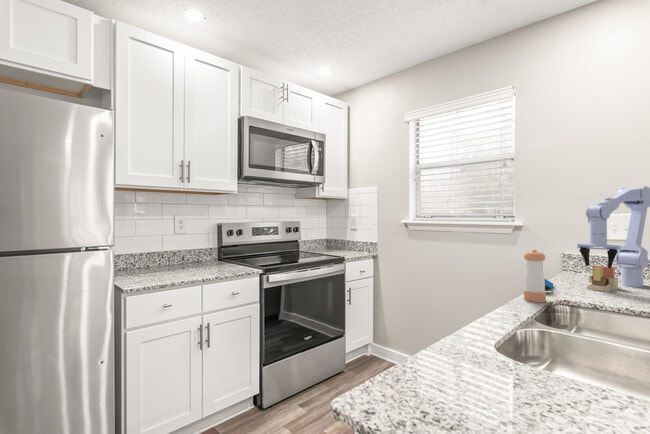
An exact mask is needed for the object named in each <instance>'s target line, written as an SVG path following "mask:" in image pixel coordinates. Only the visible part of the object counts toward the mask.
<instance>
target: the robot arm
mask: <svg viewBox="0 0 650 434" xmlns="http://www.w3.org/2000/svg"><path fill="white" fill-rule="evenodd" d="M620 204H623V205H624V206H625V207H626V208H628V209H631V211H630V217H629V222H628V223H629V224H628V229H627V234H626V240H625V243H624V244H623V245H617V244H615V245H614V244H608V219H610V217H611V215H612V213H613V212H614V211H616V210H617V209H619V207H620ZM649 207H650V187H649V186H637V187H635V186H633V187H622V188H620V189H618V193H617V194H615V195H614V196H612V197H611V196H610V197H605V198H604V199H603V200H601V201H600V202H597V204H595V205H590V206H589V207H587V208H586V212H585V215H586V218H587V222H588V224H589V243H577V244H576V247H577V249H579V252H580V254H581V255H582V258H583V260H584V264H585V266H586V267H589V266H590V251H591V250H603V251H604V250H606V253H607V260H608V261H607V267H608V268H612V267H613V262H614V261H615V262H616V264H617V265H618V267H620V286H622V287H628V288H643V286H644V271H643V269H645V267H646V266H647V265H648V264H649V257H648V255H649V253H648V252H649V251H648V250H646V248H644V247H643V246H642V242H643V241H642V240H643V236H644V228H645V224H646V219H647V214H648V213H647V212H648V208H649Z"/></svg>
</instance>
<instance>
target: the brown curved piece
mask: <svg viewBox="0 0 650 434" xmlns="http://www.w3.org/2000/svg"><path fill="white" fill-rule="evenodd" d="M590 276H591V280H592V285H597V286H606V285H609V282H608V279H606V276H604V277H602V281H596V280H594V278H593V276H592V275H590Z"/></svg>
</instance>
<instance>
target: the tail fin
mask: <svg viewBox="0 0 650 434" xmlns="http://www.w3.org/2000/svg"><path fill="white" fill-rule="evenodd" d="M592 275H593V278H594V280H596V281H602V277H603V268H597V267H596V268H593V267H592Z"/></svg>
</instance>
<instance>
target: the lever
mask: <svg viewBox="0 0 650 434" xmlns="http://www.w3.org/2000/svg"><path fill="white" fill-rule="evenodd" d="M544 280H545V288H547V289H551V288H553V287H554V283H553V282H551V281H549V280H548V279H546V278H544Z"/></svg>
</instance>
